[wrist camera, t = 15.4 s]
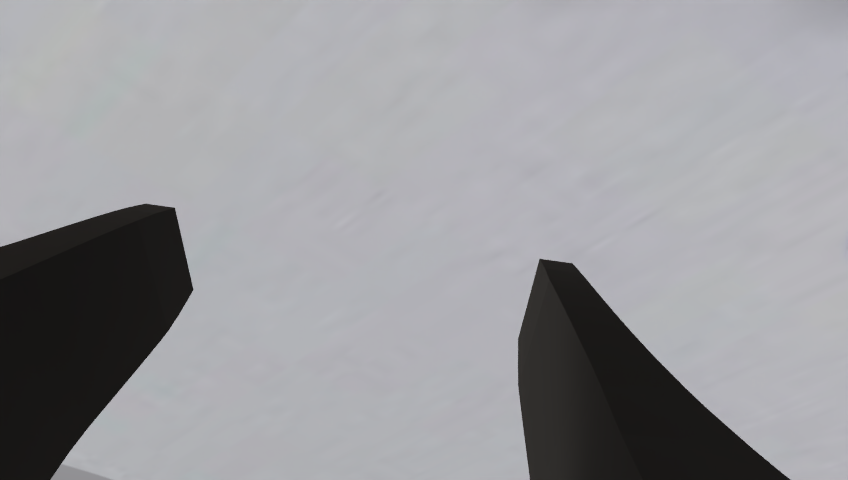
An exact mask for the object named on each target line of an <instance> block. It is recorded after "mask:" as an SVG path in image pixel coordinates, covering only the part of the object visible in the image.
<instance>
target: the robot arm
mask: <svg viewBox="0 0 848 480" xmlns="http://www.w3.org/2000/svg"><path fill="white" fill-rule="evenodd" d="M192 291H193V286H192V282H191V277H190V273H189V269H188V264H187V260H186V255H185V251H184V247H183V242H182V238H181V233H180V229H179V224H178V220H177V216H176V211H175V208H172V207H165V206H158V205H150V204H142V205H137V206H133V207H128V208H124V209H121V210H117V211H113V212H110V213H107V214H103V215H100V216H97V217H93V218H90V219H87V220H84V221H81V222H77V223H74V224H71V225H68V226H65V227H62V228H59V229H56V230H52V231H49V232H46V233H43V234H40V235H37V236H34V237H31V238H28V239H24V240H21V241H18V242H15V243H12V244H9V245H5V246H2V247H0V480H50V479H51V478H52V476H53V475H54V473H55V472H56V471H57V469H58V468H59V466H60V465H61V463H62V462H63V460H64V459H65V457H66V456H67V455H68V453H69V452H70V450H71V449H72V448H73V446H74V445H75V444H76V443H77V441H78V440H79V439H80V437H81V436H82V435H83V434H84V432H85V431H86V430H87V428H88V427H89V426H90V425H91V424H92V422H93V421H94V420H95V419H96V418H97V416H98V415H99V414H100V413H101V412H102V410H103V409H104V408H105V407H106V406H107V404H108V403H109V402H110V401H111V400H112V398H113V397H114V396H115V395H116V394H117V392H118V391H119V390H120V389H121V388H122V387H123V385H124V384H125V383H126V382H127V381H128V379H129V378H130V377H131V376H132V375H133V373H134V372H135V371H136V370H137V369H138V367H139V366H140V365H141V364H142V363H143V361H144V360H145V359H146V358H147V357H148V355H149V354H150V353H151V352H152V350H153V349H154V348H155V347H156V346H157V344H158V343H159V342H160V341H161V339H162V338H163V337H164V336H165V334H166V333H167V332H168V330H169V329H170V327H171V326H172V324H173V323H174V321H175V320H176V318H177V317H178V315H179V313H180V312H181V310H182V308H183V307H184V305H185V303H186V302H187V300H188V298H189V296H190V295H191V293H192ZM518 386H519V395H520V404H521V412H522V420H523V428H524V436H525V443H526V451H527V459H528V467H529V475H530V480H790V479H789V478H787V477H786V476H785V475H784V474H782V473H781V472H780V471H779V470H778V469H776V468H775V467H774V466H773V465H771V464H770V463H769V462H768V461H767V460H765V459H764V458H763V457H762V456H761V455H759V454H758V453H757V452H756V451H755V450H753V449H752V448H751V447H750V446H749V445H748V444H746V443H745V442H744V441H743V440H742V439H741V438H740V437H739V436H737V435H736V434H735V433H734V432H733V431H732V430H731V429H729V428H728V427H727V426H726V425H725V424H724V423H723V422H721V421H720V420H719V419H718V418H717V417H716V416H715V415H714V414H712V413H711V412H710V411H709V410H708V409H707V408H706V407H705V406H704V405H703V404H701V403H700V402H699V401H698V400H697V399H696V398H695V397H694V396H693V395H692V394H691V393H690V392H689V391H688V390H687V389H686V388H685V387H684V386H683V385H682V384H681V383H680V382H679V381H678V380H677V379H676V378H675V377H674V376H673V375H672V374H671V373H670V372H669V371H668V370H667V369H666V368H665V367H664V366H663V365H662V364H661V363H660V362H659V361H658V360H657V359H656V358H655V357H654V356H653V355H652V354H651V353H650V352H649V351H648V350H647V349H646V347H645V346H644V345H643V344H642V343H641V342H640V341H639V340H638V339H637V338H636V337H635V335H634V334H633V333H632V332H631V331H630V330H629V329H628V328H627V327H626V325H625V324H624V323H623V322H622V321H621V320H620V319H619V317H618V316H617V315H616V314H615V313H614V312H613V311H612V309H611V308H610V307H609V306H608V305H607V303H606V302H605V301H604V300H603V299H602V298H601V296H600V295H599V294H598V293H597V292H596V290H595V289H594V288H593V287H592V286H591V284H590V283H589V282H588V281H587V280H586V278H585V277H584V276H583V275H582V274H581V273H580V271H579V270H578V269H577V268H576V267H575V266H574V265H573V264H572V263H565V262H558V261H551V260H544V259H540V260H539V264H538V267H537V271H536V275H535V278H534V282H533V286H532V290H531V293H530V297H529V301H528V305H527V308H526V312H525V316H524V319H523V323H522V327H521V331H520V334H519V338H518Z"/></svg>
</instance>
